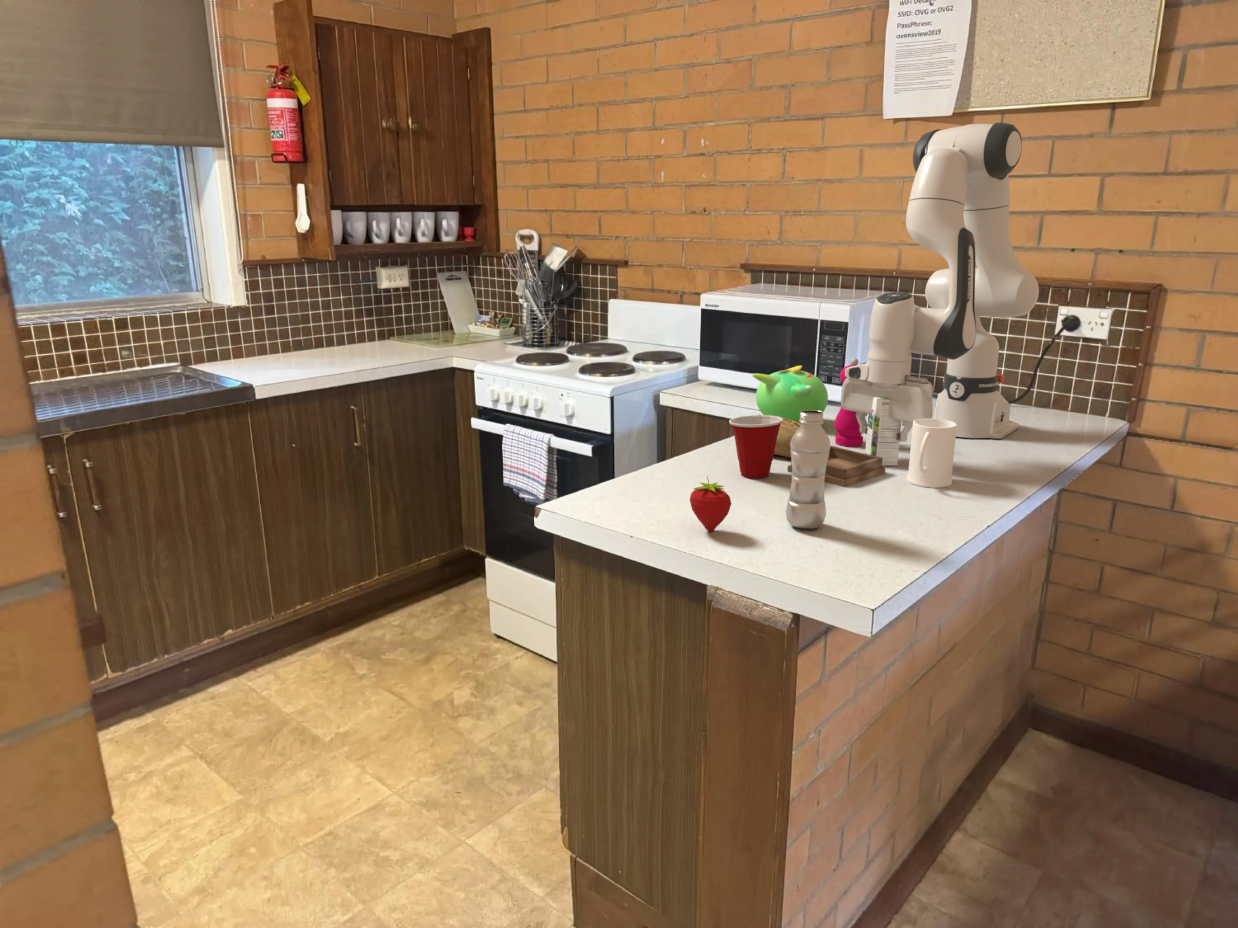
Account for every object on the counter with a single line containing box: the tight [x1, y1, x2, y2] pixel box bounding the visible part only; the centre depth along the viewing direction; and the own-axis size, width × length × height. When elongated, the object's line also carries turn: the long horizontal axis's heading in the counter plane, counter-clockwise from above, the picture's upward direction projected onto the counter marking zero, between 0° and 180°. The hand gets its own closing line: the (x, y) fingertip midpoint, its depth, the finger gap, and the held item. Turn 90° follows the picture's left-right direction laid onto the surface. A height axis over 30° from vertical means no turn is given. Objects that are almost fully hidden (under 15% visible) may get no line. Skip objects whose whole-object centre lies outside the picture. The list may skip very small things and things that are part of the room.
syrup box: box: [864, 397, 902, 467], centre depth 177 cm, size 6×6×14 cm
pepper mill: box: [833, 357, 864, 448], centre depth 191 cm, size 7×7×20 cm
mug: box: [906, 417, 957, 489], centre depth 163 cm, size 12×8×12 cm
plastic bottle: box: [785, 410, 832, 530], centre depth 139 cm, size 6×7×20 cm
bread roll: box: [774, 419, 801, 459], centre depth 185 cm, size 10×15×8 cm, turn 56°
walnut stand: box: [787, 445, 886, 488], centre depth 172 cm, size 14×14×3 cm
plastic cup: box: [728, 414, 783, 480], centre depth 169 cm, size 11×11×12 cm
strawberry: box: [689, 475, 732, 532], centre depth 139 cm, size 6×8×10 cm
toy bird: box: [751, 365, 829, 423], centre depth 210 cm, size 18×17×15 cm
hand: (882, 437), depth 177 cm, fingers closed on syrup box, 8 cm apart
